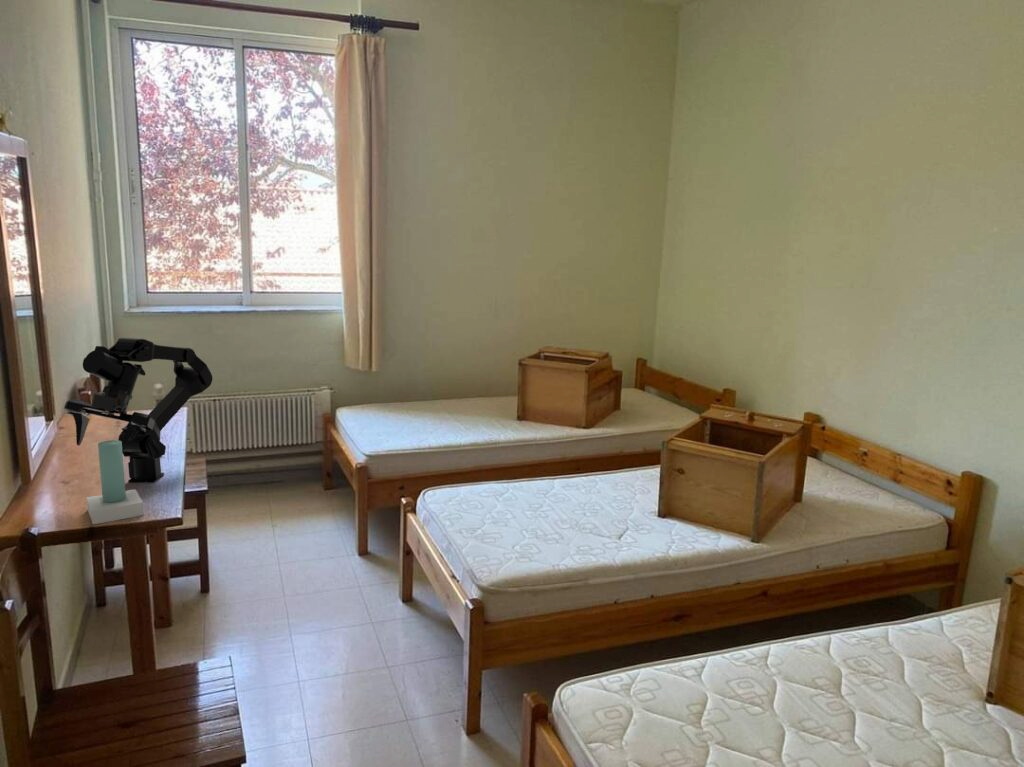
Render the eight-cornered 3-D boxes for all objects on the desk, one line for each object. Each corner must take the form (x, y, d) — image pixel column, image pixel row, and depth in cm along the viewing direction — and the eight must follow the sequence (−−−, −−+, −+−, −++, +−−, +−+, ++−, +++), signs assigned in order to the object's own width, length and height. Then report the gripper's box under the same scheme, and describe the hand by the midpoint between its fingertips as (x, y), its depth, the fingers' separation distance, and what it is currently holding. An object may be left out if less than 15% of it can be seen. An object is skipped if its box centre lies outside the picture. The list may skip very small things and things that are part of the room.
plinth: (136, 501, 171) (135, 488, 171) (144, 514, 163) (142, 501, 163) (87, 510, 166) (86, 497, 165) (92, 524, 158) (91, 510, 157)
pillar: (119, 494, 167) (115, 439, 165) (130, 498, 164) (125, 442, 162) (98, 499, 163) (93, 443, 161) (109, 504, 161) (104, 446, 158)
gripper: (67, 369, 168) (43, 434, 163) (152, 387, 171) (131, 452, 166) (83, 381, 178) (61, 443, 174) (163, 398, 181) (143, 459, 177)
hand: (98, 449), depth 172 cm, fingers open, 9 cm apart
